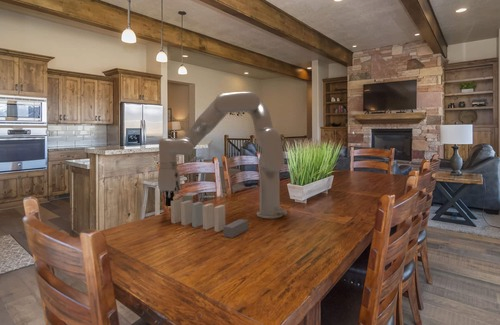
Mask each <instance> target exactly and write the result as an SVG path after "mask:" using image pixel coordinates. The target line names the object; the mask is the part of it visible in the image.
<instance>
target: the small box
mask: <svg viewBox="0 0 500 325" xmlns="http://www.w3.org/2000/svg"><path fill="white" fill-rule="evenodd" d="M181 197H182V198H181V199H182V202H184V201H188V200H190V201H192V204H193V203H197V202H200V198H199V197H200V196H199V192H187V193H185V194H183V195H181Z"/></svg>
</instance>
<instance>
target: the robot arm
mask: <svg viewBox="0 0 500 325" xmlns="http://www.w3.org/2000/svg"><path fill="white" fill-rule="evenodd" d="M238 112H239V113H241V112H244V113H247V114H249V115H250V117H251V120H252V122H253V128H254V133H255V138H256V143H257V145H258V146H259V147H260V148H261V154H260V155H259V157H258V170H259V211H257V212H256V216H257V217H258V218H261V219H267V220H268V219H269V220H270V219H271V220H272V219H279V218H281V217H283V215H287V213H288V210H287V209H285V208H284V209H283V208H282V206H281V205H280V182H281V180H280V171H282V169H283V168H284V166H285V156H284V149H283V144H282V143H283V142H282V137H281V134H280V133H279V132H278V130H277V129H275V128H274V127H273V121H272V118H271V114H270V111H269V109H268V106H266V104H265V103H264V102H263V101H261V100H260V96H259V95H258V94H257V93H256V92H254V91H249V90H248V91H238V92H237V91H236V92H223V93H219V94H218V95H217V96H216V98H215V99H214V100H213V101H212V102H211V103H210V104H209V105H208V107H207V108H205V110H204V111H203V112H202V113H201V114H200V115H199V116H198V117H197V119H196V120H195V122H194V124H192V126H191V127H190V128H189V130H187V132H186V133H185V134H184V135H183V136H182V137H181V138H175V139H174V138H160V139H159V141H158V151H159V152H158V154H159V169H158V178H157V186H158V189H159V193H161V194H163V196H164V199H165V206H166V207H171V201H173V200H174V197H175V195H178V194H179V193H180V192H179V191H180V190H181V188H182V187H181V175H180V170H179V169H178V166H179V165H178V161H177V158H178V157H177V155H178V156H179V155H180V156H182V155H183V156H187V155H190V154H191V153H192V152H193V150H194V149H195V148H196V147H197V145H198V144H199V143H200V142H201V141H202V140H203V139H204V138H205V137H206V136H207V135H208V134H210V133H211V132H213V130H214V129H215V128H216V127H217V126H218V125H219V124H220V123H221V121H222V120H223V119H224V118H225V117H226V116H227V115H228V114H229V113H238Z"/></svg>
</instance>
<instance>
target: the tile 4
mask: <svg viewBox="0 0 500 325" xmlns="http://www.w3.org/2000/svg"><path fill="white" fill-rule="evenodd" d="M214 207H215V205H214V203H210V202H209V203H206V204H203V225H202V230H206V231H207V230H210V229H212V228H214Z"/></svg>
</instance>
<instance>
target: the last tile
mask: <svg viewBox="0 0 500 325" xmlns="http://www.w3.org/2000/svg"><path fill="white" fill-rule="evenodd" d="M224 226H226V205H225V204H220V205H217V206H214V227H213V228H214V232H217V233H219V232H221V231H224Z"/></svg>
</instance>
